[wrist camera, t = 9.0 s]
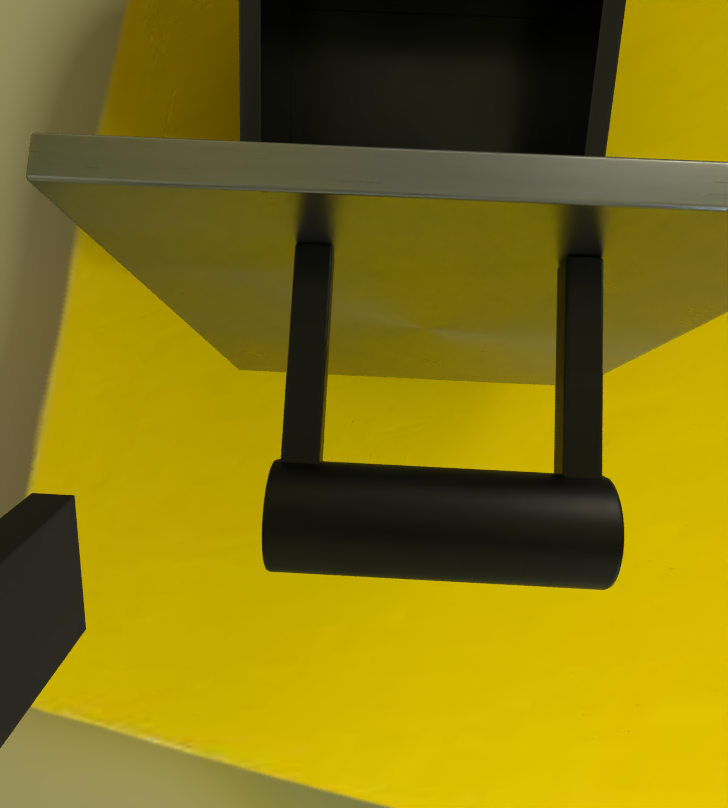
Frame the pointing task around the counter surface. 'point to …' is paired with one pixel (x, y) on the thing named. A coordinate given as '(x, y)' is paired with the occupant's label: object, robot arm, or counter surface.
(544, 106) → the black hollow box
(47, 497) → the robot arm
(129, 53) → the counter surface
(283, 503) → the lid
